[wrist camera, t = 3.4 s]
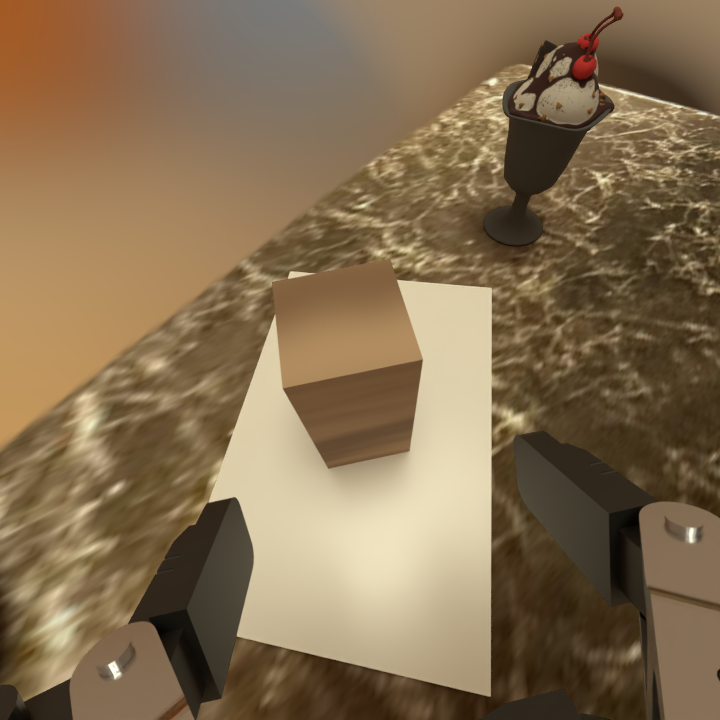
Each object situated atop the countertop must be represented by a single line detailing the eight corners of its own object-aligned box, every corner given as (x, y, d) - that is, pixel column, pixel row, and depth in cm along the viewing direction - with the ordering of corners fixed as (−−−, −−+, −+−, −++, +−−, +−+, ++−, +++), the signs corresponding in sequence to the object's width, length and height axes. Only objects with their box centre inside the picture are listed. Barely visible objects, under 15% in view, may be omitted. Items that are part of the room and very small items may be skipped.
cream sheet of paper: (292, 278, 32) (290, 271, 31) (489, 294, 29) (491, 288, 28) (174, 618, 20) (167, 619, 19) (486, 692, 17) (490, 696, 17)
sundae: (538, 264, 30) (647, 31, 17) (461, 237, 33) (507, 12, 20) (564, 215, 33) (676, -19, 20) (491, 193, 35) (550, -31, 22)
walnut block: (409, 451, 23) (423, 359, 13) (328, 468, 22) (282, 388, 13) (390, 379, 25) (390, 259, 16) (317, 394, 25) (272, 282, 16)
